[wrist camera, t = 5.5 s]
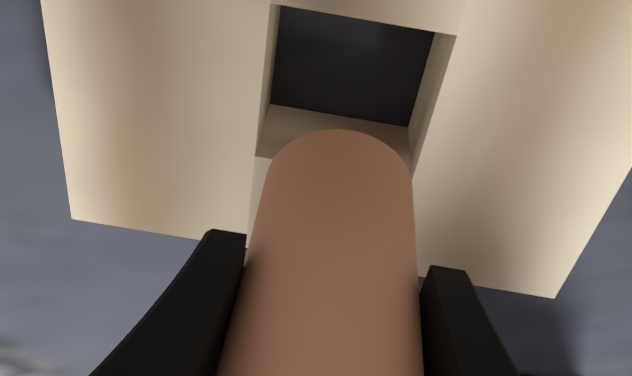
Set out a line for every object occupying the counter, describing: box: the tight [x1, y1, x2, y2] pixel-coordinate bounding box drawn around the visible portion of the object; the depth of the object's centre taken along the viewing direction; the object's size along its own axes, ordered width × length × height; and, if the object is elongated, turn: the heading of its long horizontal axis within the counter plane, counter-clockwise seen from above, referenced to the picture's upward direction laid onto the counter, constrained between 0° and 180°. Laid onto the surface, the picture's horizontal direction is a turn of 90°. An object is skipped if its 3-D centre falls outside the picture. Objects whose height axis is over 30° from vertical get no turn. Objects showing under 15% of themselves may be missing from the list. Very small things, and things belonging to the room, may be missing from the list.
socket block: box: [40, 0, 632, 299], centre depth 17 cm, size 16×12×3 cm
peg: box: [216, 129, 424, 376], centre depth 10 cm, size 3×3×8 cm
